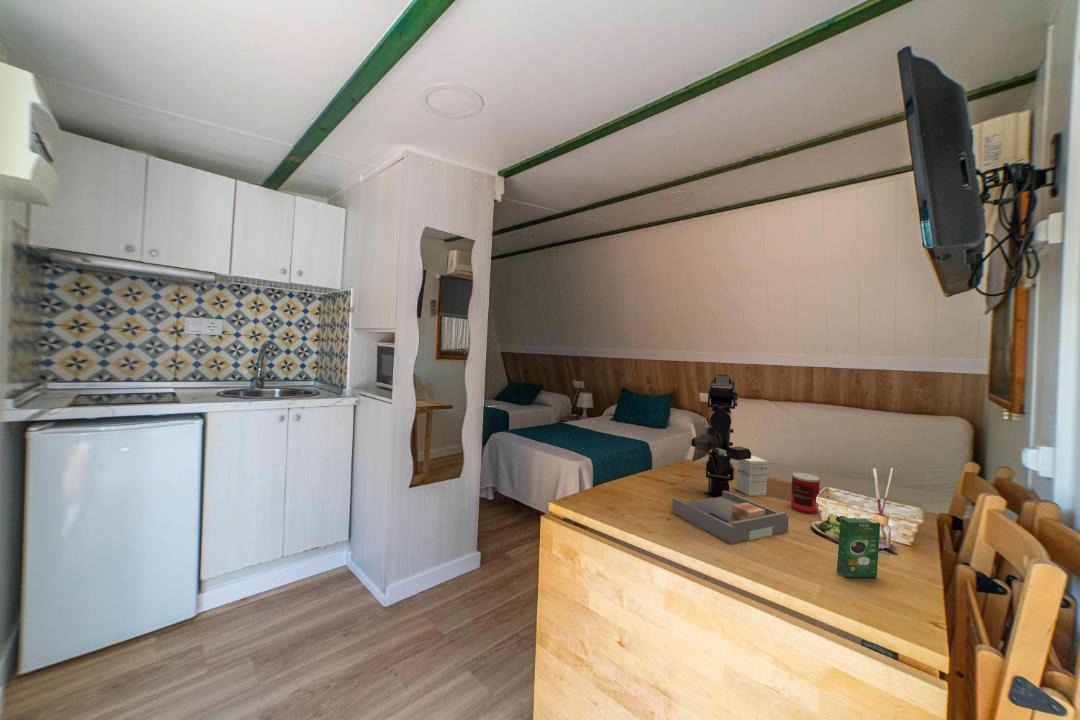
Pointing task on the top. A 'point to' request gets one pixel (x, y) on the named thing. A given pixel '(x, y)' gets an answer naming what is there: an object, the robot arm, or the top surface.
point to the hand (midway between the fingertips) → (718, 475)
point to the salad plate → (833, 528)
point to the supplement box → (752, 476)
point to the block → (746, 511)
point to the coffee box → (858, 547)
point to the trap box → (718, 518)
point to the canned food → (804, 492)
